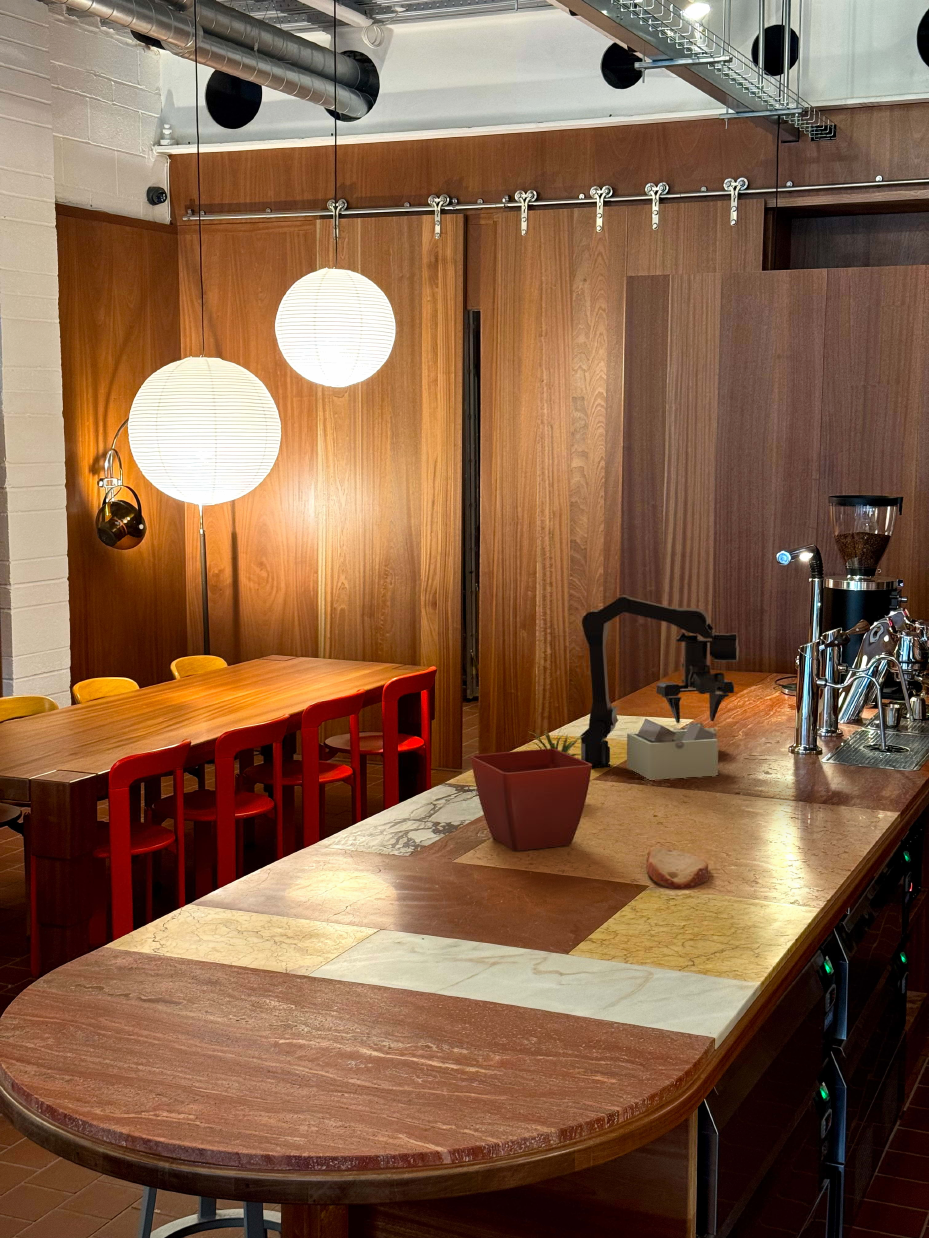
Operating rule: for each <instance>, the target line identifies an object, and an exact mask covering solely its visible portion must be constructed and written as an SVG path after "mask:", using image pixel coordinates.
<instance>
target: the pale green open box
mask: <svg viewBox="0 0 929 1238" xmlns="http://www.w3.org/2000/svg"><path fill="white" fill-rule="evenodd" d="M672 731H673V730H672ZM686 731H687V730H681V729H680V730H676V731H673V732H675V733H676V734H675V736H674V738H673V740H676V742H661V743H654V742H652V741H650V740H648V739H646V738H644V737H642V736H640V735H638V732H631V733H629V732H628V733H626V768H627V767H628V768H630V769H631V770H633V771H635V772H637V773H639V774H640V775H643V776H644V777H646V778H647V779H649V780H650V779H669V778H684V779H687V778H686V777H698V778H703V777H702V776H712V777H715V776H714V775H718V776H719V772H718V771H719V767H718V766H719V740H718V739H717V738H716V739H708V740H692V741H682V739H683V737H684V735H685V733H686ZM647 779H646V780H647ZM649 780H648V781H649Z"/></svg>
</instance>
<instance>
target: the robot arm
mask: <svg viewBox="0 0 929 1238" xmlns="http://www.w3.org/2000/svg"><path fill="white" fill-rule="evenodd" d="M623 613H626V614H630V615H633V616H640V617H643V618H648V619H652V620H657V621H660V622H664V623H668V624H670V625H673V626H675V627H676V628H678V629H680V630H682V633H681V634H680V636H678V637H677V638H676V639H675V641H676V642H678V643H684V647H683V655H684V656H683V662H681V668H683V678H682V679H681V684H679V683H677V682H674V681H662V682H661V681H660V682H658V683H657V685H656V694H658V695H660V696H661V697H662V698H664V699H665V700H666V701H667V704H668V706H669V707H670V710H671V712H672V715H673V717H674V720H675V722H676V724H680V723H681V721H680V720H681V711H680V705H681V704H680V702H681V700H682V697H681V696H679V695H680V694H681V693H690V692H691V693H692V692H697V693H698V694H699V695H705V694H709V698H708V701H709V720H710V722H714V721H715V718H716V716H717V713H718V710H719V708H720V706H721V704H722V702H723V701H724V699H726V698H728V697H730V694H735V684H734V682H733V681H730V680H727V679H725V674H724V673H723V672H715V673H712V672H711V667H710V664H709V663H708V659H709V658H708V651H709V656H710V657H711V658H713V659H714V661H715V662H716V661H718V662H720V661H721V662H738V661H739V652H740V650H739V649H740V646H739V639H738V633H736V632H735V633H717V631H716V630H715V629H714V627H713V626H712V625H711V623H710V617H709V614H708V613H707V612H706V611H705V609H702V608H696V607H694V608H693V607H672V606H668V605H664V604H660V603H655V602H651V601H647V600H643V599H638V598H634V597H631V596H629V595H625V594H624V595H621V596H619V597H617V598H616V599H615V600H614V601H612V602H611V603H610V604H607V605H606V606H603V608H600V609H599V608H596V609H592V610H591V611H588V612H587V613H586V614H585V615H584V616H583V617H582V620H581V626H582V630H583V634H584V638H585V640H586V643H587V645H588V651H589V667H590V680H591V681H590V683H591V696H592V698H591V699H592V701H591V708H590V713H589V718H588V719H589V721H588V728H587V729H586V730H585V731H584V732H583V733H582V734H580V736H579V737H581V736H583V737H581V738H580V759H581V760H583V761H585V762H588V763H590V764H592V768H602V767H601V766H607V767H611V765H612V764H610V762H611V747H610V746H609V741H608V740H607V738H608V736H609V735H610V734H611V733H612V732H613V731H614V729H615V728H616V725H617V723H618V722H619V719H618V715H617V713H618V706H617V705H614V706H612V703H611V700H610V695H609V679H608V678H609V677H608V664H607V663H608V662H607V649H606V645H607V644H606V643H607V639H608V634H609V626H610V622H611V621H613V620H614V619H616V618H617V617H618V616H620V615H621V614H623ZM687 633H689V634H687ZM700 637H702V638H700ZM708 644H709V645H708ZM708 647H709V649H708ZM584 735H585V736H584ZM599 766H600V767H599Z"/></svg>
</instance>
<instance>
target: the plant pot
mask: <svg viewBox="0 0 929 1238" xmlns="http://www.w3.org/2000/svg"><path fill="white" fill-rule="evenodd" d="M560 750H561V749H558V750H557V749H553V748H550V747H549V748H548V749H545V748H542V749H540V748H536V749H526V750H515V751H504V752H496V753H495V752H494V753H486V754H475V755H470V760H471V767H472V772H473V778H474V784H475V787H476V791H477V795H478V799H479V803H480V807H481V810H482V813H483V815H484V819H485V822H486V825H487V827H488V829H489V830H488V831H489V833H490V836H491V837H492V838H493V839H494V840H496V841H497V840H498V841H497V842H499V843H500V844H502V845H504V846H505V847H507V848H508V849H510V850H512V851H514V852H521V851H528V850H529V849H530V850H537V849H544V848H545V849H546V848H547V847H548V848H553V847H555V846H556V847H563V845H565V846H569V845H572V843H573V841H574V838H575V836H576V833H577V831H578V827H579V825H580V822H581V819H582V815H583V812H584V807H585V804H586V800H587V797H588V793H589V792H588V791H589V787H590V781H591V775H592V768H593V767H592V764H590V763H588V762H585V761H583V760H581V758H579V757H576V756H571V755H569V754H570V753H569V754H567V753H564V752H562V751H560ZM548 848H547V849H548Z"/></svg>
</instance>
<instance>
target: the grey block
mask: <svg viewBox="0 0 929 1238" xmlns="http://www.w3.org/2000/svg"><path fill="white" fill-rule="evenodd" d="M693 723H694V722H690V725H689V727H688V729H687V731H686V733H685V735H684V737H683V739H682V741H692V740H708V739H713V737H714V735H715V734H713V733H711V732H710V731H708V730H706V729H704V728H705V727H704V728H702V727H700V726H697V725H695V724H693Z"/></svg>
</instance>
